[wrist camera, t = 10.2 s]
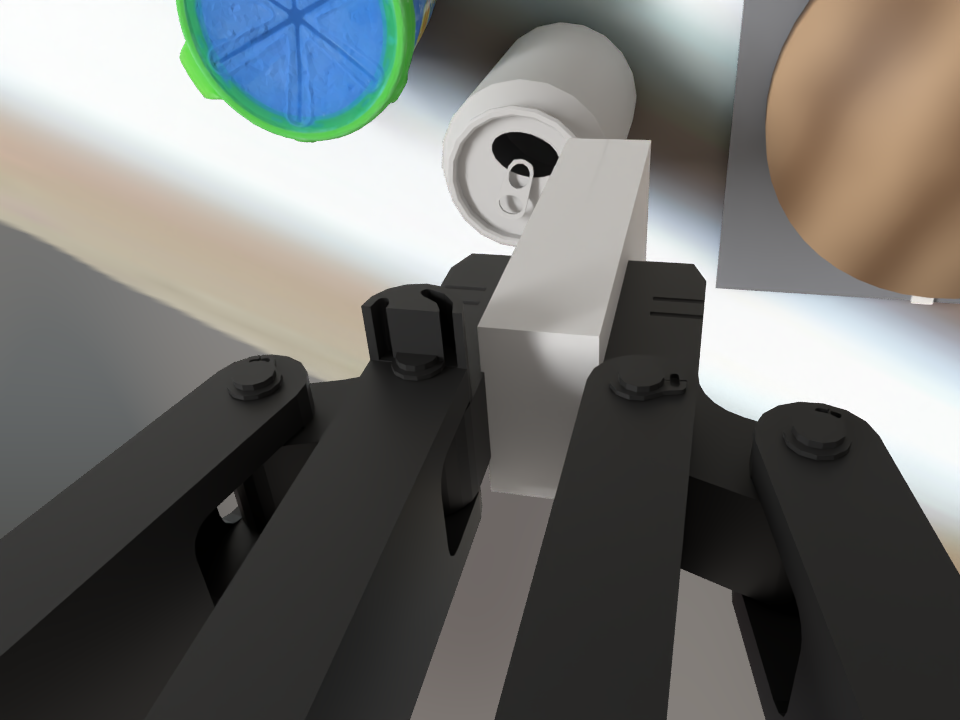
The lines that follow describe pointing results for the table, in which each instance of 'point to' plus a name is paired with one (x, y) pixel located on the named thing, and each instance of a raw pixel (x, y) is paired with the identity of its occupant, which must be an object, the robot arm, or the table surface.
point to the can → (533, 123)
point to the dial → (872, 140)
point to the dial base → (750, 193)
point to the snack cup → (302, 59)
